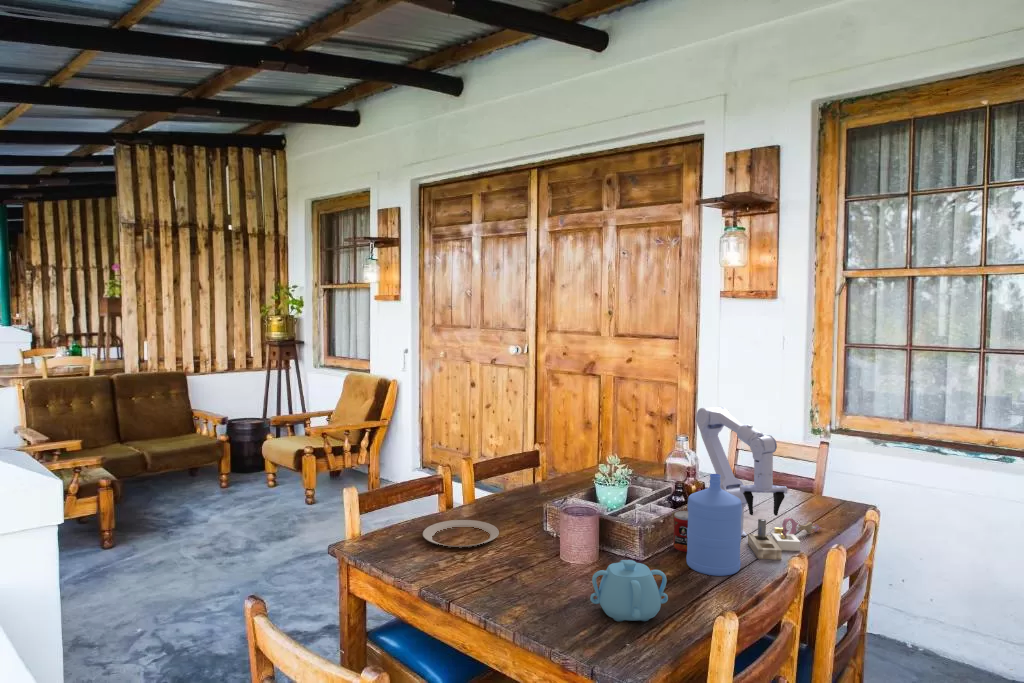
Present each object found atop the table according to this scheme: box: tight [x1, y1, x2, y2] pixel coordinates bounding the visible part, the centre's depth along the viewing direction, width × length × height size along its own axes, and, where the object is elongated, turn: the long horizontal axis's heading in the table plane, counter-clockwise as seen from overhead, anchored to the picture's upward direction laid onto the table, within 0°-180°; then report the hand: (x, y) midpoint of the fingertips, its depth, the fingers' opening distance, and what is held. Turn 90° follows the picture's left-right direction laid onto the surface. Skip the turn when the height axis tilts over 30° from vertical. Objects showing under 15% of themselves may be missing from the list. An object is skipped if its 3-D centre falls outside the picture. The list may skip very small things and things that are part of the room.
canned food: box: [673, 510, 688, 553], centre depth 224 cm, size 8×8×11 cm
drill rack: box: [747, 533, 783, 561], centre depth 222 cm, size 7×14×3 cm, turn 174°
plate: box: [422, 519, 500, 549], centre depth 233 cm, size 26×26×2 cm
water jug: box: [686, 473, 742, 577], centre depth 208 cm, size 16×16×28 cm
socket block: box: [770, 531, 801, 552], centre depth 230 cm, size 7×16×3 cm, turn 174°
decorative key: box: [781, 517, 822, 537], centre depth 236 cm, size 7×1×20 cm
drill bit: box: [757, 518, 767, 540], centre depth 225 cm, size 2×2×9 cm
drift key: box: [773, 526, 786, 540], centre depth 231 cm, size 3×6×3 cm, turn 174°
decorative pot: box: [589, 559, 669, 622], centre depth 178 cm, size 16×16×14 cm
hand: (763, 514), depth 226 cm, fingers open, 7 cm apart
